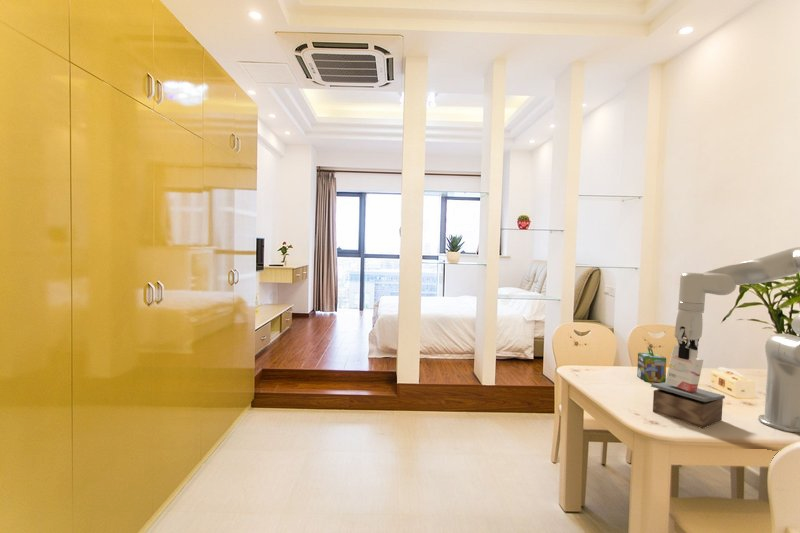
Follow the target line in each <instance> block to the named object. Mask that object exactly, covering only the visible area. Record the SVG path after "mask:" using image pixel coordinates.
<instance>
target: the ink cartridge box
mask: <svg viewBox="0 0 800 533" xmlns="http://www.w3.org/2000/svg"><path fill="white" fill-rule="evenodd" d="M689 349H690V348H689ZM678 352H679V346H678V344H674V345H673V349H672V352H671V355H670V360H669V364H668V369H667V371H666V381H665V383H667V384H670V385H672V386H675V387H678V388H680V389H683V390H685V391H688V392H697V388H698V387H699V383H700V377H701V372H702V368H703V363H704V359H701V358H699V357H698V353H699V352H698V351H697V350H693V349H690V351H689V359H688V360H686V359H682V358H679V357H678ZM696 357H697V358H696Z"/></svg>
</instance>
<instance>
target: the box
mask: <svg viewBox="0 0 800 533" xmlns="http://www.w3.org/2000/svg"><path fill="white" fill-rule="evenodd" d="M723 402H724V399H719V400H713V401H707V402H703V401H699V400H696V399H692V398H689V397H686V396H682V395H679V394H675V393H672V392H668V391H665V390H661V389H658V388H656V389H654V390H653V399H652V413H654V414H658V415H660V416H664V417H667V418H670V419H674V420H676V421H679V422H682V423H685V424H688V425H691V426H693V427H697V428H699V427H700V429H705V427H706V428H708V427H710V426H713V425H715V424H717V423H719V422H721V421H722V418H723Z"/></svg>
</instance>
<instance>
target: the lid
mask: <svg viewBox="0 0 800 533" xmlns="http://www.w3.org/2000/svg"><path fill="white" fill-rule="evenodd" d="M650 387H651V388H655V389H661V390H665V391H668V392H672V393H675V394H679V395H682V396H686V397H689V398H692V399H696V400H699V401H703V402H707V401H713V400H719V399H723V400H724V399H725V398H726V396H725V395H724V394H720V393H716V392H713V391H708V390H705V389H701V388H698V387H697V392H688V391H685V390H683V389H680V388H678V387H675V386H672V385H670V384H667V383H665V382H654V383H650Z"/></svg>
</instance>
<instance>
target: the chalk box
mask: <svg viewBox="0 0 800 533" xmlns="http://www.w3.org/2000/svg"><path fill="white" fill-rule="evenodd" d="M653 352H654V351H653V348H651V347H648V346H647V352H638V353H637V375H636V376H637V377H638V378H639V379H640V380H642V381H643V382H646V383H647V382H648V383H649V382H650V383H664V382H665V381H666V377H667V357H666V356H663V355H661V354H659V353H653Z"/></svg>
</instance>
